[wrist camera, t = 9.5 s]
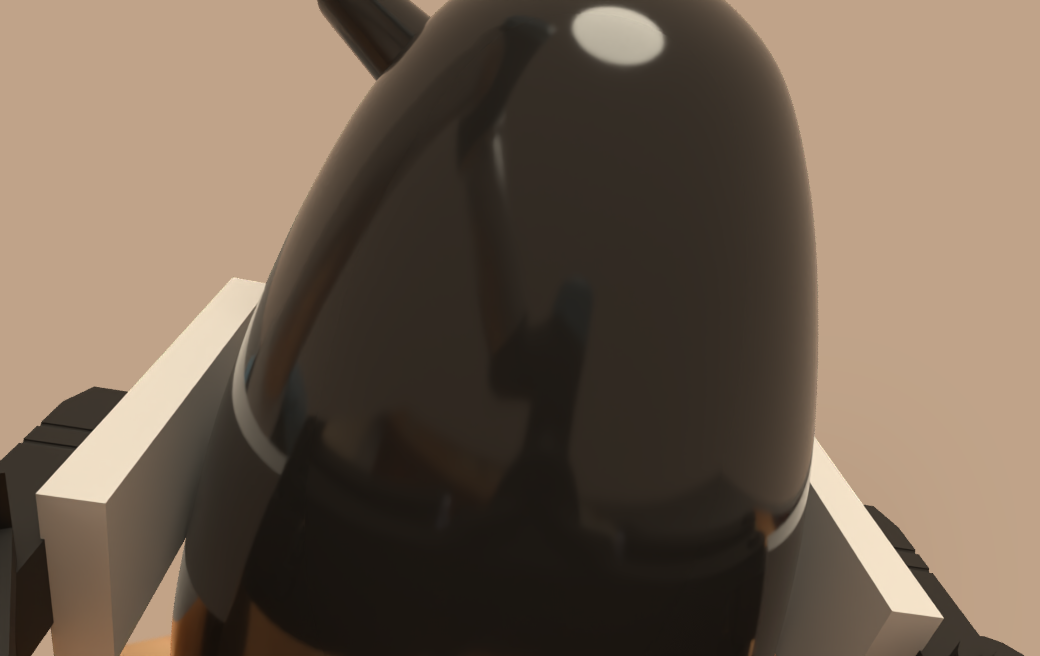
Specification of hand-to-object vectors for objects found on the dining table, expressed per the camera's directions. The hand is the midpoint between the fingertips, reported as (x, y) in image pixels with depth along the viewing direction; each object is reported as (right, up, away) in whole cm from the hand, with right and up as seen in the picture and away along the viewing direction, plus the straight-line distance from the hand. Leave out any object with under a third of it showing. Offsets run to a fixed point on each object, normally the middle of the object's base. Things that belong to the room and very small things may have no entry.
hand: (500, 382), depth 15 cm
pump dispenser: (-1, -8, 0) cm, 8 cm away
